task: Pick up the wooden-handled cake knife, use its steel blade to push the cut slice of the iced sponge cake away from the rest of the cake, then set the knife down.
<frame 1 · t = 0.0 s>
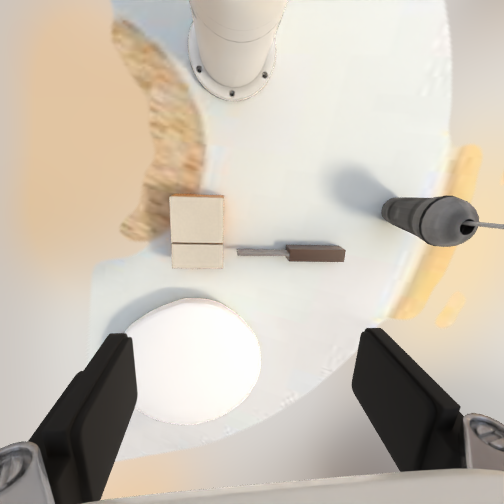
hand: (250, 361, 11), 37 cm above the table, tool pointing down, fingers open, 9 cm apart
cake slice: (200, 248, 47), on the table
beverage cup: (392, 210, 49), on the table
white round disc: (191, 354, 53), on the table
cake: (199, 215, 45), on the table
knife: (312, 250, 49), on the table
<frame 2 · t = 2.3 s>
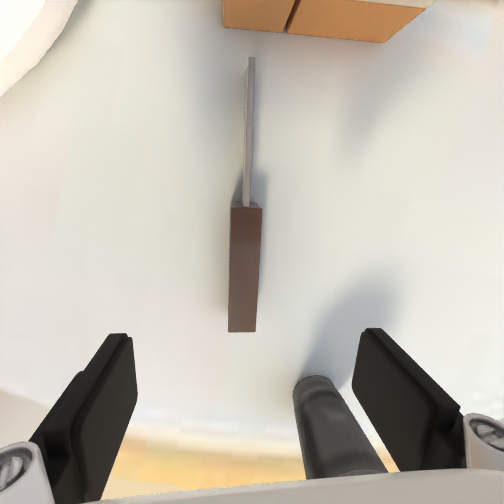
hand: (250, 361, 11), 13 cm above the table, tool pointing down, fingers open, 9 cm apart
beverage cup: (313, 391, 28), on the table
knife: (242, 261, 23), on the table
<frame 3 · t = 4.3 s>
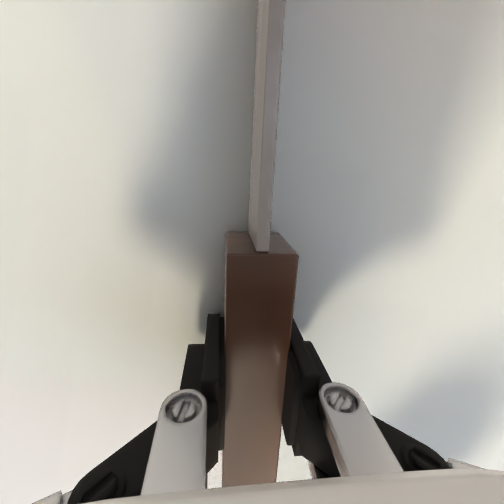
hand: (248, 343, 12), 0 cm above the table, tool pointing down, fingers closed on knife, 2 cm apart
knife: (247, 338, 12), on the table, touching gripper
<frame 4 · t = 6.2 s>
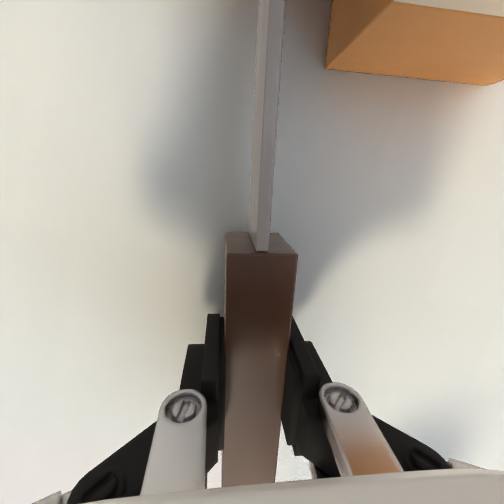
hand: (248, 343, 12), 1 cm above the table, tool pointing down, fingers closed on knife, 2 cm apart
knife: (247, 337, 12), point 1 cm above the table, touching cake slice, gripper
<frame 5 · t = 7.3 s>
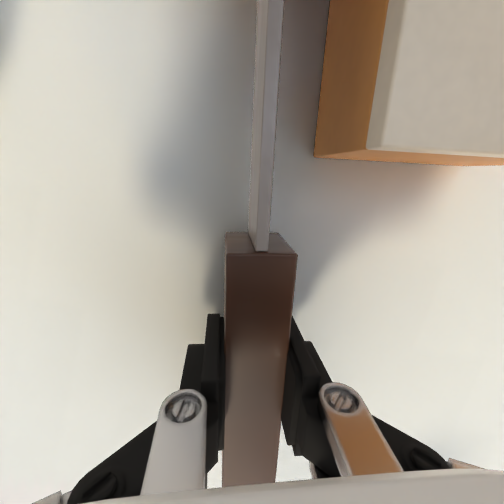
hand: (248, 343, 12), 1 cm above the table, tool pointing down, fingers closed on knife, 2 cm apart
cake: (411, 53, 10), on the table
knife: (247, 337, 12), point 1 cm above the table, touching cake slice, gripper
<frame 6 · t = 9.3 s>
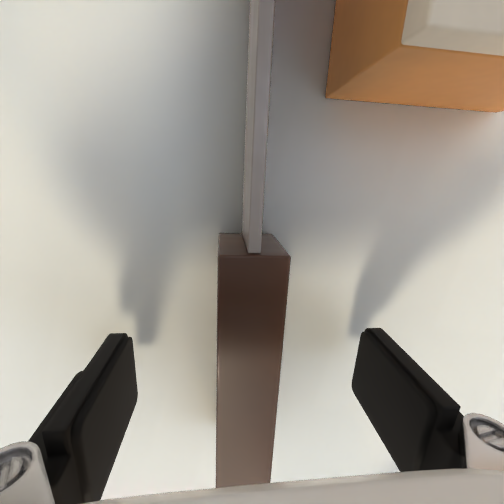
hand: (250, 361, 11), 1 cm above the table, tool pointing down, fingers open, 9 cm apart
knife: (241, 340, 12), on the table
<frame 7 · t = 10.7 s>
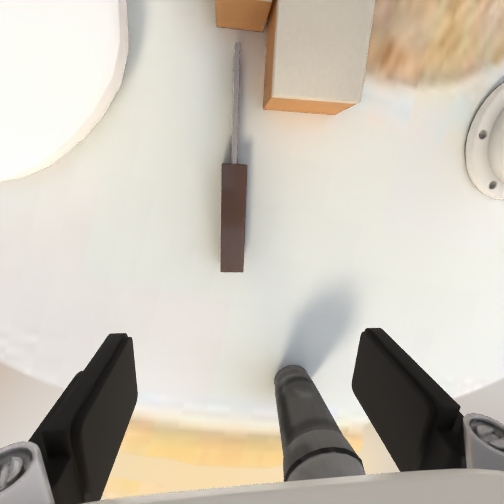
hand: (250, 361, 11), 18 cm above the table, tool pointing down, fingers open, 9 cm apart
beverage cup: (291, 378, 34), on the table
cake: (303, 63, 24), on the table
knife: (232, 216, 27), on the table
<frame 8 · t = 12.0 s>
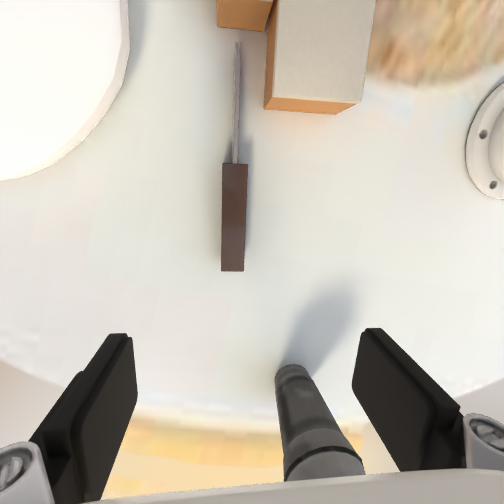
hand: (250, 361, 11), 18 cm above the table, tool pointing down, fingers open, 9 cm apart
beverage cup: (291, 378, 34), on the table
cake: (304, 62, 24), on the table
knife: (232, 215, 27), on the table
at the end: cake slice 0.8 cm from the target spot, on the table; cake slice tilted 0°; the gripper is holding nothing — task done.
